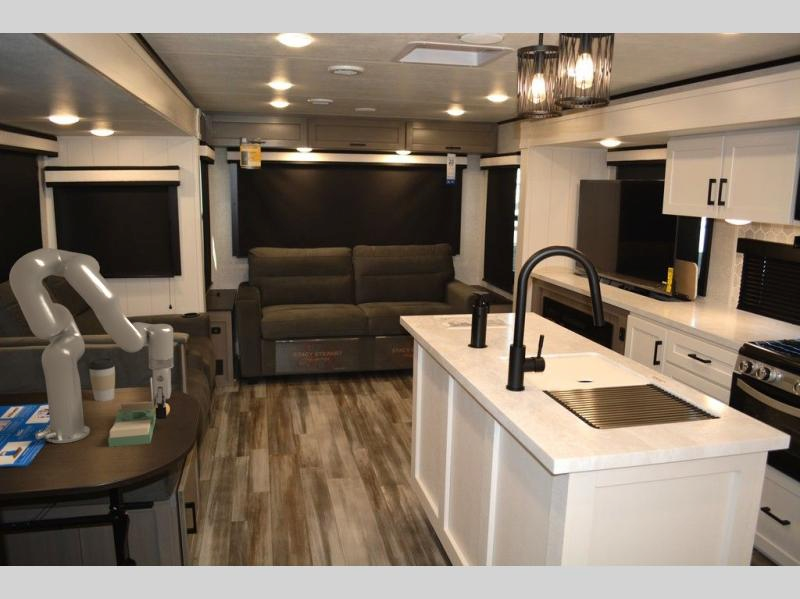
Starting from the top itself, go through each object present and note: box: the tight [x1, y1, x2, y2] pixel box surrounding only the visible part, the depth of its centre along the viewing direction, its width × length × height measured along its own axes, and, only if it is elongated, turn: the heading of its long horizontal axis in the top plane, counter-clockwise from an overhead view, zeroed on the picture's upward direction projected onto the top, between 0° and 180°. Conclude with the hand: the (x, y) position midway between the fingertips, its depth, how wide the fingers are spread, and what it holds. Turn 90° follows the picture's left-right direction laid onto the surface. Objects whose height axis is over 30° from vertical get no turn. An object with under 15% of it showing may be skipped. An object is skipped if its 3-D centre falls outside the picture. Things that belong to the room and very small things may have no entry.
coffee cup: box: [88, 357, 116, 402], centre depth 238 cm, size 9×9×15 cm
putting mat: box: [107, 376, 157, 448], centre depth 211 cm, size 25×12×14 cm, turn 16°
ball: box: [154, 402, 171, 417], centre depth 211 cm, size 5×5×5 cm
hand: (161, 414), depth 211 cm, fingers closed on ball, 4 cm apart
